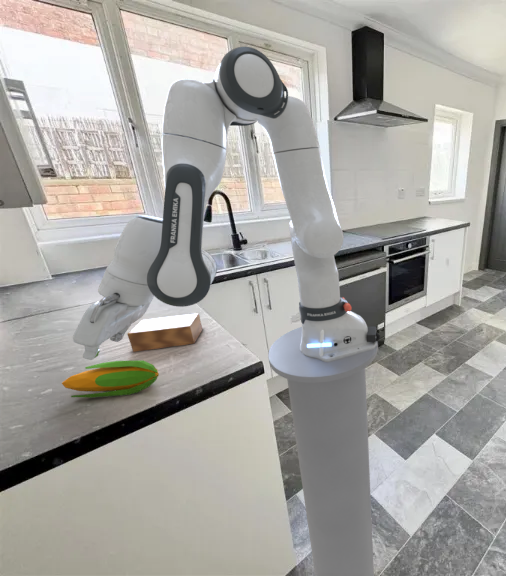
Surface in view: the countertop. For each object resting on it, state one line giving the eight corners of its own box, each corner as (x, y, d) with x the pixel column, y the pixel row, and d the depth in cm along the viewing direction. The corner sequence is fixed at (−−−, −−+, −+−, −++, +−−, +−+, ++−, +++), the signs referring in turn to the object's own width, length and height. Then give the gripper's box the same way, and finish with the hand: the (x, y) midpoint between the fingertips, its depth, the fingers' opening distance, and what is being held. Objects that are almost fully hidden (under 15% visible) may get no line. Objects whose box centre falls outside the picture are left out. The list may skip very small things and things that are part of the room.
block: (202, 329, 103) (198, 312, 101) (194, 343, 94) (189, 325, 92) (147, 336, 99) (142, 319, 97) (133, 352, 90) (127, 333, 88)
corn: (143, 367, 68) (40, 377, 66) (151, 397, 70) (51, 408, 68) (161, 352, 76) (68, 360, 73) (167, 379, 78) (78, 388, 75)
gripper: (119, 307, 55) (91, 376, 56) (164, 285, 74) (142, 336, 75) (77, 294, 53) (48, 365, 53) (134, 274, 72) (112, 327, 73)
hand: (103, 348), depth 64 cm, fingers open, 8 cm apart
